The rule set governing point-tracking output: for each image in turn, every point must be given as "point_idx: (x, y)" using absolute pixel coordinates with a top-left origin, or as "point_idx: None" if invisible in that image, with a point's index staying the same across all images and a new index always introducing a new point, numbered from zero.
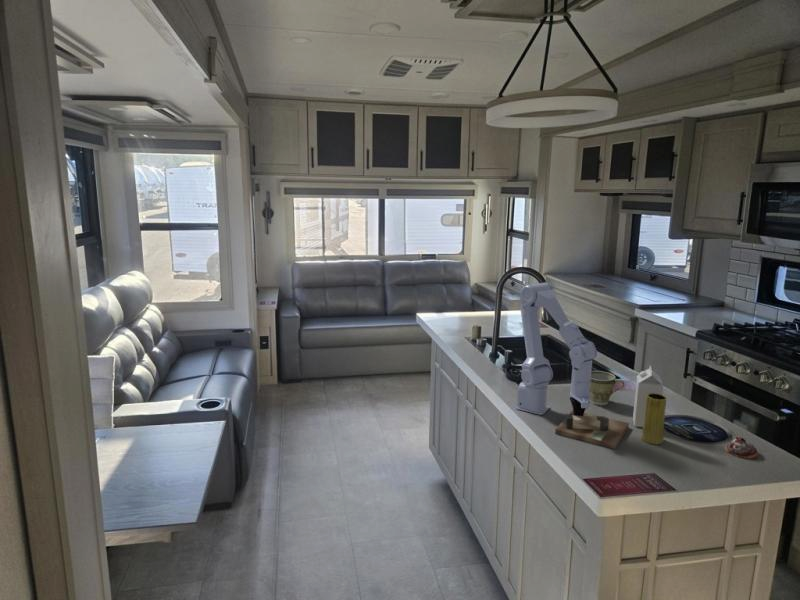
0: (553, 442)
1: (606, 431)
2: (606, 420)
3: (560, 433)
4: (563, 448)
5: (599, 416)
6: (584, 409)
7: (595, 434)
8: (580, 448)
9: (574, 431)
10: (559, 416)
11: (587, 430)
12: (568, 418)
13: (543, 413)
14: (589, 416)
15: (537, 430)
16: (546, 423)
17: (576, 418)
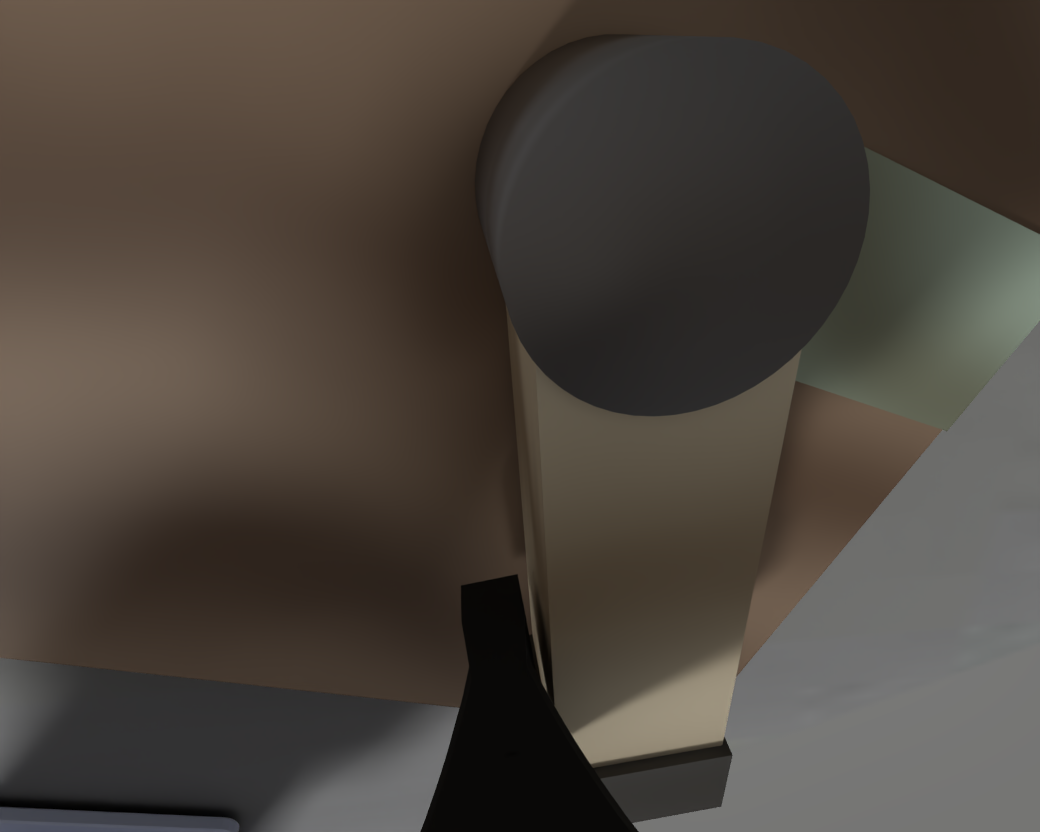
0: (856, 673)
1: None
2: (818, 151)
3: None
4: (986, 602)
5: (526, 342)
6: (620, 811)
7: (860, 329)
8: (1026, 470)
9: None
10: (155, 695)
11: None
12: (719, 797)
13: (199, 823)
14: (25, 397)
15: None
16: (433, 760)
17: (680, 715)
